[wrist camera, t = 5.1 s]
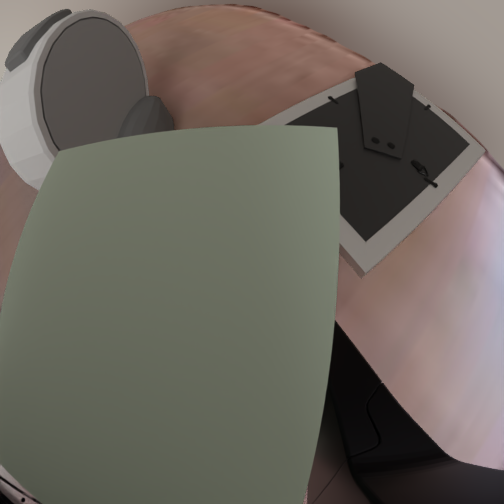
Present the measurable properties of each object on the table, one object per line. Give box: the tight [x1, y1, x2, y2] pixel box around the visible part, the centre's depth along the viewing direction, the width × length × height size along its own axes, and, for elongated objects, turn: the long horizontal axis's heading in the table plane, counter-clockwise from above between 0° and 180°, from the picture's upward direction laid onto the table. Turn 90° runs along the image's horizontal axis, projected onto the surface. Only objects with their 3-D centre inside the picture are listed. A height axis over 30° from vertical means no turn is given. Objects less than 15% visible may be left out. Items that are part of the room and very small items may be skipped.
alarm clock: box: [0, 9, 174, 190], centre depth 18 cm, size 16×10×18 cm, turn 176°
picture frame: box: [258, 63, 485, 279], centre depth 23 cm, size 16×3×21 cm
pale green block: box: [0, 125, 340, 504], centre depth 8 cm, size 5×4×13 cm
